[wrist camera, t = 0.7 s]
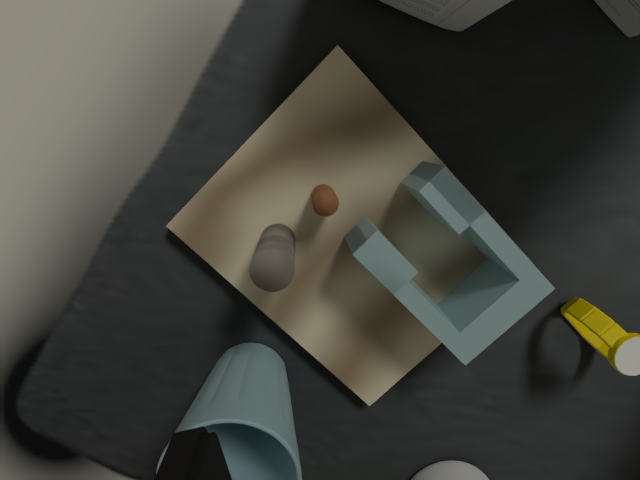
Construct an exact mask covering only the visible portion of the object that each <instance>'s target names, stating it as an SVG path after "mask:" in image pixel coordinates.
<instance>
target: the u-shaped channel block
mask: <svg viewBox="0 0 640 480" xmlns="http://www.w3.org/2000/svg"><path fill="white" fill-rule="evenodd" d="M400 183H401V184H402V185H403V186H404V187H405V188H406V189H407V190H408V191H409V192H410V193H411V194H412V196H413V197H414V198H415V199H416V200H417V201H418V202H419V203H420V204H421V205H422V206H423V207H424V208H425V209H426V211H427V212H428V213H429V214H430V215H431V216H432V217H433V218H434V219H435V220H436V221H438V222H439V223H441V224H443V225H444V226H446V227H447V228H449V229H451V230H452V231H454V232H455V233H457V234H459V235H460V234H461V233H462V232H463V233H464V234H465V235H466V236H467V237H468V238H469V239H470V240H471V241H472V243H473V244H474V245H475V246H476V247H477V248H478V249H479V250H480V251H481V252H482V253H483V254H484V256H485V257H486V258H487V260H486V261H485V262H483V263H482V264H481V265H480V266H479V267H478V268H477V269H476V270H475V271H473V272H472V273H471V274H470V275H469V276H468V277H467V278H466V279H464V280H463V281H462V282H461V283H460V284H459V285H458V286H457V287H456V288H454V289H453V290H452V291H451V292H450V293H449V294H448V295H447V296H445V297H444V298H443V299H442V300H441V301H440V302H439V303H438V304H436V303H435V302H434V301H433V300H432V299H431V298H430V297H429V296H428V295H427V294H426V293H425V292H424V291H423V290H422V289H421V288H420V287H419V286H418V285H417V284H416V283H415V282H414V281H413V280H412V278H413V277H414V276H415V275H416V274H417V273H418V271H417V270H416V269H415V268H414V267H413V266H412V264H411V263H410V262H409V261H408V260H407V259H406V257H405V256H404V255H403V254H402V253H401V252H400V251H399V250H398V249H397V248H396V247H395V246H394V244H393V243H392V242H391V241H390V240H389V239H388V238H387V237H386V236H385V235H384V234H383V233H382V232H381V231H380V230H379V229H378V228H377V227H376V226H375V225H374V224H373V223H372V222H371V221H370V220H369V219H368V218H367V217H366V216H365V217H364V218H363V219H362V220H361V221H360V222H359V223H358V224H357V225H356V226H355V227H353V228H352V229H351V230H350V231H349V232H348V233H347V234H346V235H345V236H344V237H345V239H346V241H347V244H348V246H349V248H350V251H351V253H352V255H353V256H354V257H355V258H356V259H357V260H358V261H359V262H360V263H361V264H362V265H363V266H364V267H365V268H366V269H367V270H369V271H370V272H371V273H372V274H373V275H374V276H375V277H376V278H377V279H378V280H379V281H380V282H381V283H382V284H383V285H384V286H385V287H386V288H387V289H388V290H389V291H390V292H391V293H392V294H393V295H394V296H395V297H396V298H397V299H398V300H399V301H400V302H401V303H402V304H403V305H404V306H405V307H406V308H407V309H408V310H409V311H410V312H411V313H412V314H413V315H414V316H415V317H416V318H417V319H418V320H419V321H420V322H421V323H423V324H424V325H425V326H426V327H427V328H428V329H429V330H430V331H431V332H432V333H433V334H434V335H435V336H436V337H437V338H438V339H439V340H440V341H441V342H442V343H443V344H444V345H445V346H446V347H447V348H448V349H449V350H450V351H451V352H452V353H453V354H454V355H455V356H456V357H457V358H458V359H459V360H460V361H461V362H462V363H463V364H464V365H467V364H468V363H469V362H470V361H471V360H472V359H474V358H475V357H476V356H477V355H478V354H479V353H481V352H482V351H483V350H484V349H485V348H486V347H488V346H489V345H490V344H491V343H492V342H493V341H495V340H496V339H497V338H498V337H499V336H500V335H502V334H503V333H504V332H505V331H506V330H507V329H509V328H510V327H511V326H512V325H513V324H514V323H516V322H517V321H518V320H519V319H520V318H522V317H523V316H524V315H525V314H526V313H527V312H529V311H530V310H531V309H532V308H533V307H534V306H536V305H537V304H538V303H539V302H540V301H541V300H543V299H544V298H545V297H546V296H547V295H548V294H550V293H551V292H552V291H553V290H554V289H555V288H554V287H553V286H552V285H551V284H550V282H549V281H548V280H547V279H546V278H545V277H544V276H543V275H542V273H541V272H540V271H539V270H538V269H537V268H536V267H535V266H534V264H533V263H532V262H531V261H530V260H529V259H528V258H527V257H526V256H525V254H524V253H523V252H522V251H521V250H520V249H519V248H518V247H517V245H516V244H515V243H514V242H513V241H512V240H511V239H510V238H509V237H508V235H507V234H506V233H505V232H504V231H503V230H502V229H501V228H500V226H499V225H498V224H497V223H496V222H495V221H494V220H493V219H492V218H491V216H490V215H489V214H488V213H487V212H486V211H485V210H484V209H483V207H482V206H481V205H480V204H479V203H478V202H477V201H476V200H475V198H474V197H473V196H472V195H471V194H470V193H469V192H468V191H467V190H466V188H465V187H464V186H463V185H462V184H461V183H460V182H459V181H458V179H457V178H456V177H455V176H454V175H453V174H452V173H451V172H450V171H449V169H448V168H447V167H446V166H443V165H439V164H434V163H430V162H425V161H422V162H421V163H420V164H419V165H418V166H417V167H416V168H415V169H414V170H413V171H412V172H411V173H410V174H408V175H407V176H406V177H405V178H404V179H403V180H402V181H401V182H400Z"/></svg>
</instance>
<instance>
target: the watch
mask: <svg viewBox="0 0 640 480" xmlns="http://www.w3.org/2000/svg"><path fill="white" fill-rule="evenodd" d="M560 310H561V314H562V315H563V316H564V317H565V318H566V319H567V320H568V321H569V323H570V324H571V325H572V326H573V327H574V328H575V329H576V330H577V332H578V333H579V334H580V335H581V336H582V337H583V338H584V339H585V340H586V341H587V342H588V343H589V344H590V345H591V346H592V347H593V348H595V349H597V351H598V352H599V353H600V354H602V355H603V356H604V357H605V358H606V359H608V360H609V362H610V364H611V366H612V367H613V368H615V369H616V370H617V371H619V372H620V373H622V374H624V375H627V376H636V375H639V374H640V334H637V333H626V332H625V331H624V330H623V329H622V328H621V327H620V326H619V325H618V324H617V323H615V322H614V321H613V320H612V319H610V318H609V317H608V316H607V315H605V314H604V313H603V312H602V311H600V310H599V309H597V308H596V307H595V306H593V305H591V304H590V303H588V302H587V301H585V300H583V299H581V298H577V297H573V298H572V299H571V300H570V301H568V302H567V303H566V304H565V305H564V306H562V307H561V308H560Z"/></svg>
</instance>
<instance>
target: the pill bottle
mask: <svg viewBox="0 0 640 480" xmlns="http://www.w3.org/2000/svg"><path fill="white" fill-rule="evenodd" d="M411 480H489V479H488V478H487V476H486V475H485V474H484V473H483V472H482V471H481V470H479V469H478V468H477V467H475V466H473V465H471V464H469V463H466V462H462V461H453V460H450V461H441V462H437V463H434V464H431V465H429V466H427V467H425V468H423V469H421V470H420V471H419V472H417V473H416V474H415V475H414V476H413V477H412V478H411Z"/></svg>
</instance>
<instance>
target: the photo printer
mask: <svg viewBox="0 0 640 480" xmlns="http://www.w3.org/2000/svg"><path fill="white" fill-rule="evenodd" d="M379 1H381V2H383V3H385V4H387V5H390V6H392V7H394V8H396V9H398V10H401V11H403V12H405V13H407V14H410V15H412V16H414V17H416V18H419V19H421V20H423V21H426V22H428V23H431V24H433V25H436V26H438V27H441V28H444V29H448V30H453V31H463V30H465V29H466V28H468V27H470V26H471V25H473V24H474V23H476V22H478V21H479V20H481V19H483V18H484V17H486V16H487V15H489V14H491V13H492V12H494V11H496V10H497V9H499V8H501V7H502V6H504V5H505V4H507V3H509V2H510V1H512V0H379Z"/></svg>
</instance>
